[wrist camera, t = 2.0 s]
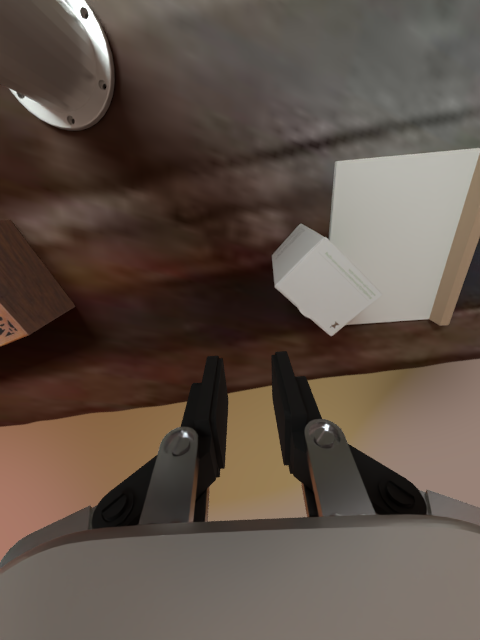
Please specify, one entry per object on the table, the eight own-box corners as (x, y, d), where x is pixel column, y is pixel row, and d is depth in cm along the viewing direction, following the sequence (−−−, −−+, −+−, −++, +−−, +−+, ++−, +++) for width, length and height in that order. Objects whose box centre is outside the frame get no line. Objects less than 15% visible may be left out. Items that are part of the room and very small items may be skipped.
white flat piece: (334, 162, 31) (344, 157, 28) (488, 147, 30) (512, 142, 27) (321, 324, 41) (327, 333, 39) (434, 316, 41) (448, 324, 38)
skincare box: (338, 259, 36) (389, 295, 22) (305, 290, 38) (332, 341, 24) (299, 220, 34) (328, 232, 20) (267, 256, 36) (273, 289, 22)
